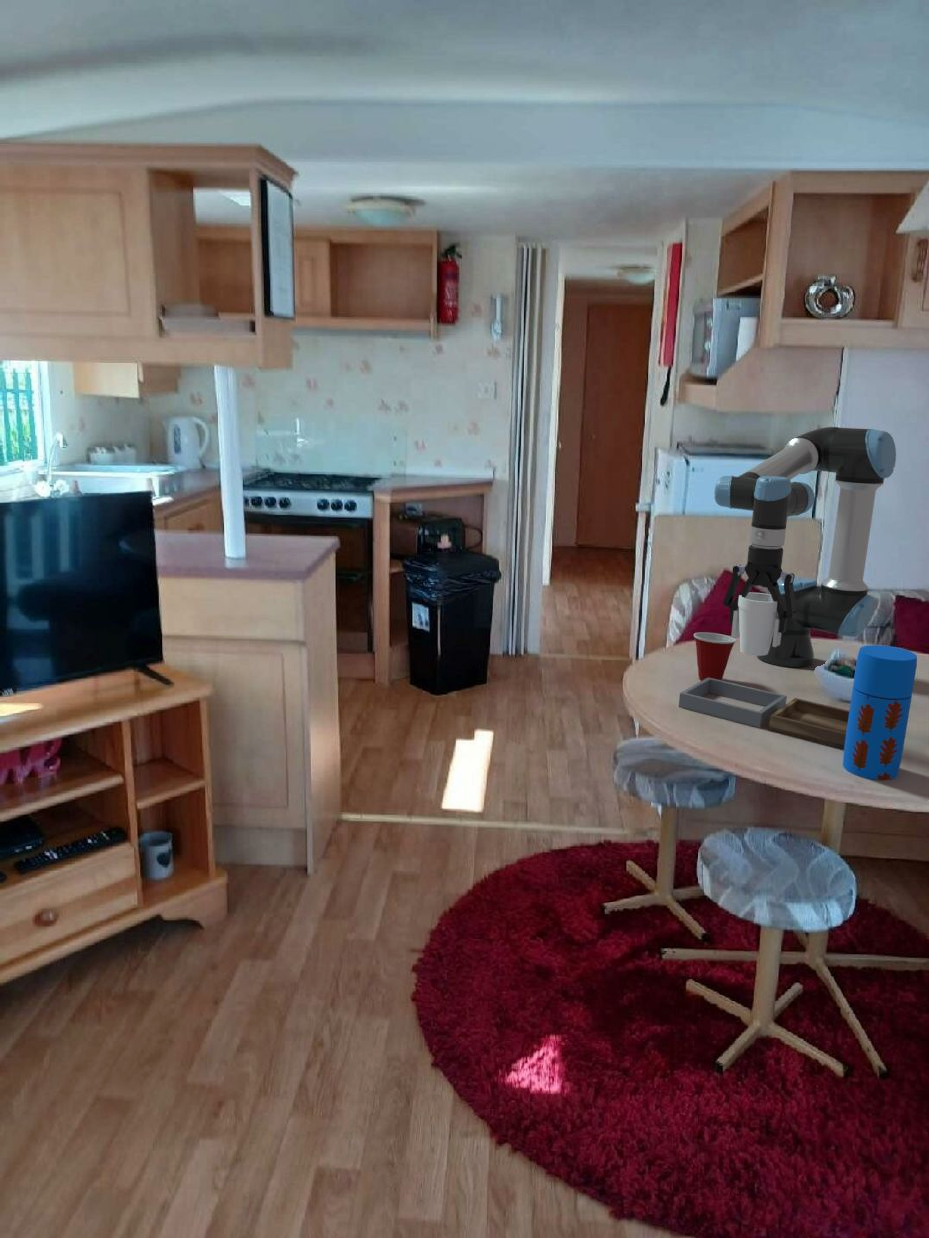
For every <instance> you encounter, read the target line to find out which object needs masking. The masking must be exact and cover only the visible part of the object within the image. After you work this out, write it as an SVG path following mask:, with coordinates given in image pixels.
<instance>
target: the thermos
mask: <svg viewBox="0 0 929 1238" xmlns="http://www.w3.org/2000/svg"><path fill="white" fill-rule="evenodd" d="M917 667H918V656H917V655H916V653H914V652H913V651H910V650H907V649H904V648H900V647H896V646H890V645H882V644H881V645H880V644H878V645H877V644H872V645H871V644H870V645H869V644H868V645H864V646H861V647H860V648H859V650H858V653H857V657H856V663H855V672H854V678H853V684H852V685H853V686H852V691H851V692H852V693H851V698H850V704H849V705H850V707H849V718H848V725H847V732H846V738H845V745H844V750H843V759H842V766H843V768H844V770H846V771H847V772H849V773H851V774H853V775H855V776H858V777H861V778H864V779H869V780H875V781H888V780H893V779H896V778H897V776H898V775H899V772H900V766H901V763H902V758H903V753H904V746H905V739H906V735H907V728H908V722H909V717H910V709H911V705H912V697H913V691H914V685H915V680H916V673H917V672H916V671H917Z"/></svg>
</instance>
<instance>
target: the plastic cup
mask: <svg viewBox="0 0 929 1238" xmlns="http://www.w3.org/2000/svg"><path fill="white" fill-rule="evenodd" d="M693 637H694V641H695V647H696V648H695V649H696V664H697V672H698V679H699V680H700V682H701V681H703V680H704V679H706V678H713V679H717V680H721V681H723V678H724V676H725V675H724V674H725V671H726V669H727V665H728V663H729V659H730V658H729V657H730V656H731V651H733V650H732V649H733V647H734V645H735V643H737V639H736V638H731V636H730V635H726V634H721V633H716V632H705V631H704V632H701V631H700V632H695V633H693Z"/></svg>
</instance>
